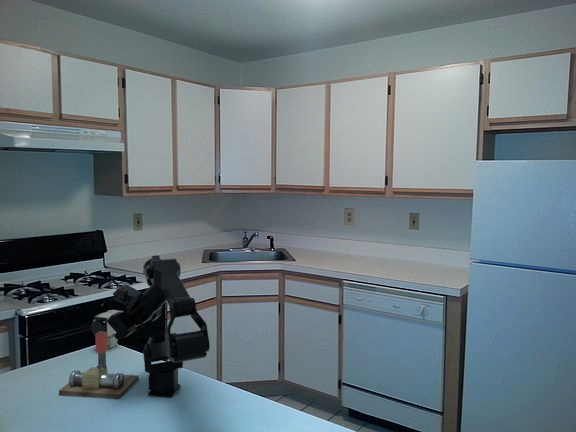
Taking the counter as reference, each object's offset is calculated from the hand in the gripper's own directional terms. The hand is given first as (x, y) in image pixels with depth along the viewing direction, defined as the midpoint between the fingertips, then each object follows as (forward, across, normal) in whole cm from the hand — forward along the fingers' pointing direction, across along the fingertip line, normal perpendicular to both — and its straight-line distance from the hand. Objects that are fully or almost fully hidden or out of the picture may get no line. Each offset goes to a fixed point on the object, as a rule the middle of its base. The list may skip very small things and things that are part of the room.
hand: (116, 337), depth 120 cm
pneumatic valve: (+21, -24, -4) cm, 32 cm away
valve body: (+11, +4, +6) cm, 13 cm away
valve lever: (+9, +1, +4) cm, 10 cm away
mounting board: (+11, +3, +7) cm, 13 cm away
